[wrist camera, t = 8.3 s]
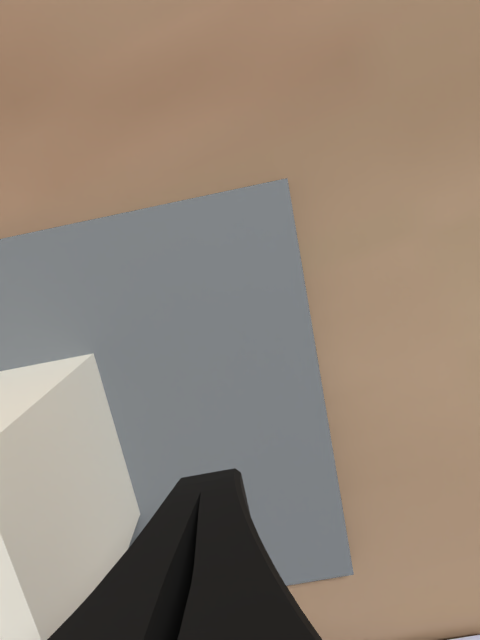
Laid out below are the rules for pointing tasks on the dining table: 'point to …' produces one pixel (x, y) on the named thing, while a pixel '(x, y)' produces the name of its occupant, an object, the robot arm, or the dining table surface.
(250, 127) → the dining table surface
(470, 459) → the dining table surface
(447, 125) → the dining table surface
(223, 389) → the mat
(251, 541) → the robot arm
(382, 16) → the dining table surface
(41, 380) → the cube
